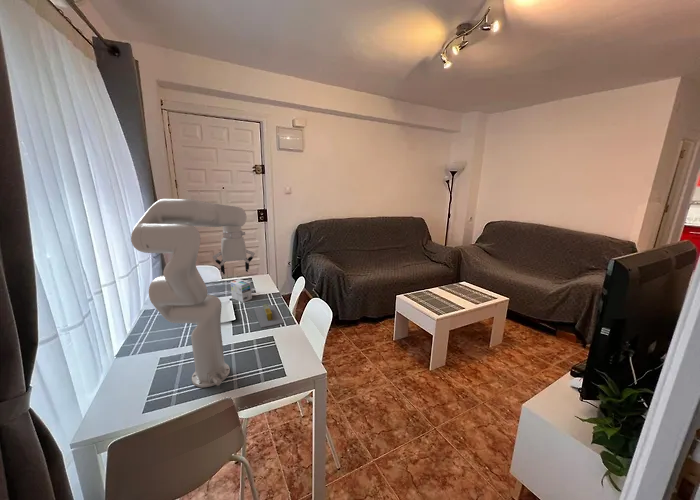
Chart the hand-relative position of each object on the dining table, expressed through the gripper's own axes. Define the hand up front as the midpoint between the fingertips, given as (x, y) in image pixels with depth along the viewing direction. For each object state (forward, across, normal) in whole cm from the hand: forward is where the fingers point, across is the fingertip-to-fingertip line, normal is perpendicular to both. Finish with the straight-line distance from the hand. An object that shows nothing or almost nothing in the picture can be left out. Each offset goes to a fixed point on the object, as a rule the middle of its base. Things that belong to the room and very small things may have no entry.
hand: (235, 272), depth 126 cm
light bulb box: (+28, -4, -37) cm, 47 cm away
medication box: (+28, -15, -9) cm, 33 cm away
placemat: (+29, -15, -9) cm, 34 cm away
